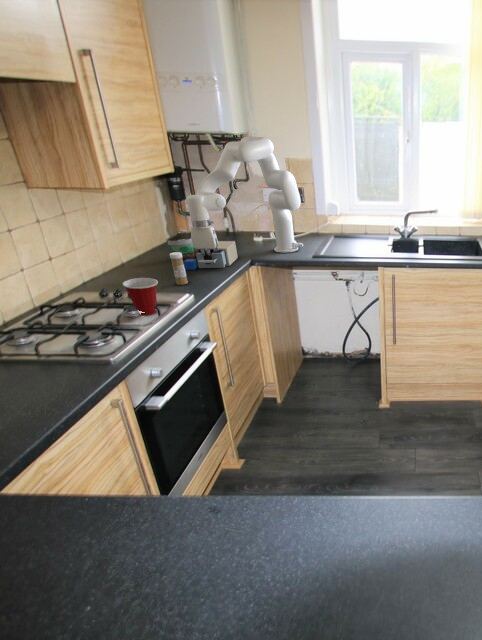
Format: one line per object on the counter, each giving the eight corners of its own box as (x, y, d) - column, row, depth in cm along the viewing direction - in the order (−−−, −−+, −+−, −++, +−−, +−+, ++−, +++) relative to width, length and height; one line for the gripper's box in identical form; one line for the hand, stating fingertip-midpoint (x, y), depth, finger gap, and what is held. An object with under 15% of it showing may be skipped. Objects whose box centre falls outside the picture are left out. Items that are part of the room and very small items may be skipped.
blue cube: (197, 267, 226) (195, 259, 224) (194, 269, 222) (192, 261, 221) (188, 267, 226) (186, 259, 224) (185, 269, 222) (183, 261, 220)
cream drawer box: (229, 265, 229) (226, 248, 226) (202, 266, 228) (198, 248, 224) (237, 257, 242) (235, 241, 239) (212, 257, 241) (208, 241, 237)
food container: (177, 262, 232) (172, 242, 228) (171, 260, 235) (166, 240, 231) (202, 257, 241) (198, 238, 237) (195, 255, 244) (191, 236, 240)
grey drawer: (221, 270, 219) (218, 256, 216) (195, 271, 217) (192, 256, 214) (232, 259, 235) (229, 246, 232) (208, 260, 234) (205, 246, 231)
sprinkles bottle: (175, 283, 204) (167, 252, 198) (186, 281, 207) (179, 251, 201) (178, 286, 201) (171, 255, 195) (189, 283, 204) (182, 253, 198)
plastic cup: (156, 318, 169) (148, 286, 164) (125, 318, 169) (115, 286, 163) (170, 307, 179) (162, 276, 174) (140, 307, 178) (132, 276, 173)
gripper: (221, 221, 216) (228, 260, 224) (186, 221, 214) (194, 261, 222) (215, 225, 209) (223, 265, 217) (180, 225, 207) (189, 265, 215)
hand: (209, 263), depth 220 cm, fingers closed
